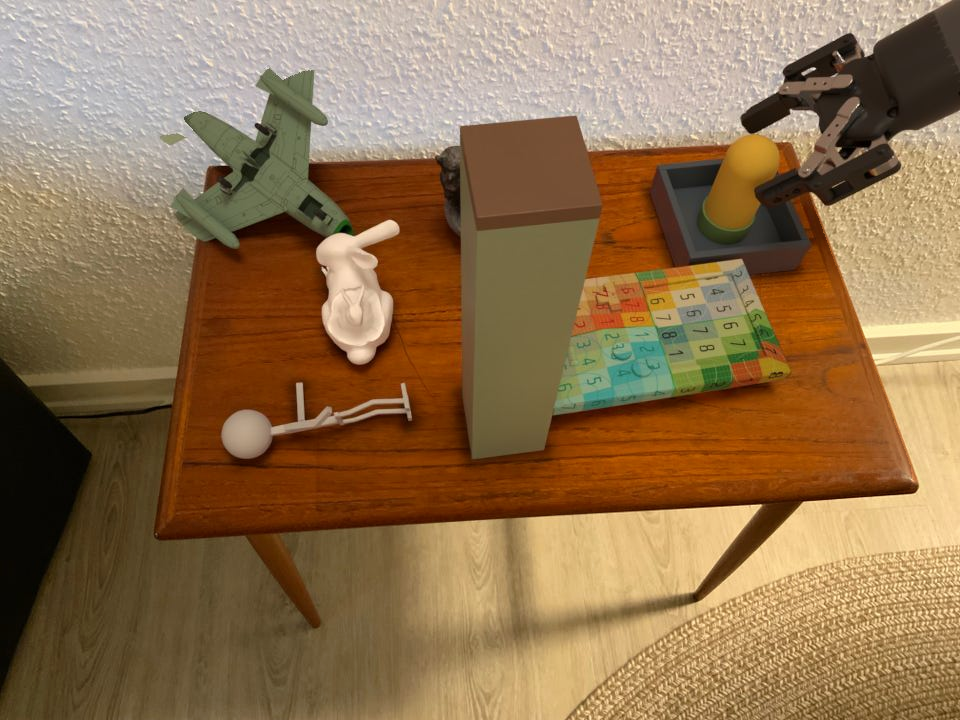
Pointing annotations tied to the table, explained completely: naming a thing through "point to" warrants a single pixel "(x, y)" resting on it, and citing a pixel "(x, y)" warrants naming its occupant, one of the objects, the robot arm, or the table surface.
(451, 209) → the cat statue
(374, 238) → the rabbit figurine
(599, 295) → the puzzle game
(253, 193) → the airplane
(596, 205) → the plinth
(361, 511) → the table surface
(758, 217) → the basket
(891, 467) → the table surface
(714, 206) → the corn toy
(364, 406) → the figurine
